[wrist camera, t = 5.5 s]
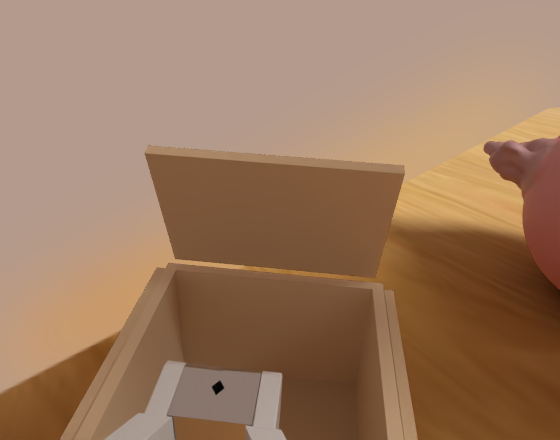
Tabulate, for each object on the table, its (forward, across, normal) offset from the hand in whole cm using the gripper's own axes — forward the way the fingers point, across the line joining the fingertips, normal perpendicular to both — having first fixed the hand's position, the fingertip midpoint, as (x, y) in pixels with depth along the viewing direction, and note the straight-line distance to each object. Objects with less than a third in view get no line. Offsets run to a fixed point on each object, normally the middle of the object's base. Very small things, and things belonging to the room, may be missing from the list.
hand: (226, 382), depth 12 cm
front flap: (+11, 0, +2) cm, 12 cm away
